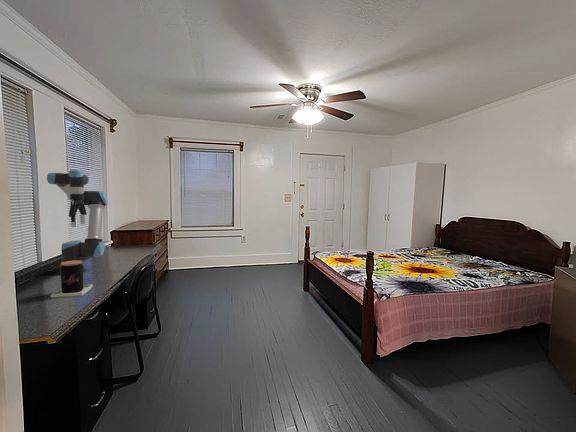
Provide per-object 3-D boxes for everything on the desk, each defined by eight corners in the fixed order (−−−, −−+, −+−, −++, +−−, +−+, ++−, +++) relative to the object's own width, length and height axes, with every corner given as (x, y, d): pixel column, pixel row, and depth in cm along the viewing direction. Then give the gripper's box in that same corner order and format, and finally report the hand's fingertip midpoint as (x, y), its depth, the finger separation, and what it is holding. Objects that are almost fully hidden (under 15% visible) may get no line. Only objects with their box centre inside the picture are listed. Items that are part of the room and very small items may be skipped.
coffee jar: (57, 295, 163) (56, 264, 162) (66, 289, 174) (65, 260, 172) (79, 293, 166) (77, 264, 165) (86, 287, 176) (85, 259, 175)
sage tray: (64, 288, 175) (63, 286, 175) (92, 287, 180) (92, 284, 179) (50, 297, 160) (50, 294, 160) (82, 295, 165) (82, 292, 164)
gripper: (78, 193, 195) (80, 223, 197) (61, 193, 172) (62, 228, 174) (91, 193, 198) (92, 223, 200) (75, 194, 174) (76, 227, 176)
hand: (78, 225), depth 187 cm, fingers open, 13 cm apart
